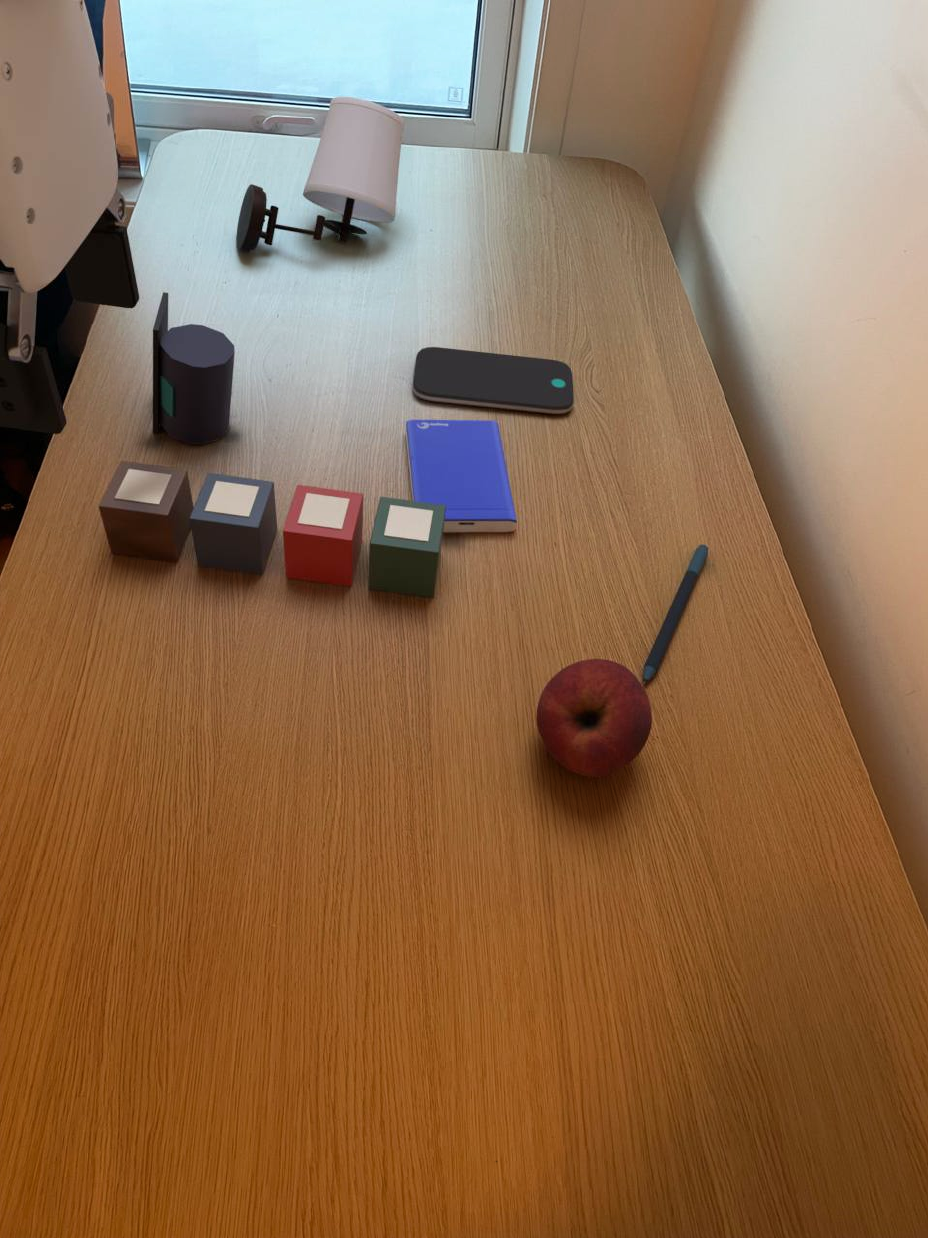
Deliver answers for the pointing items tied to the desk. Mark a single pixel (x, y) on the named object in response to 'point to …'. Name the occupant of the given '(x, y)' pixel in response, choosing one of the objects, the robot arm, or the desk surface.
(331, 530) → the red block
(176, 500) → the walnut block
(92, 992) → the desk surface
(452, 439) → the hard drive
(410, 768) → the desk surface
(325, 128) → the light fixture
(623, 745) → the apple
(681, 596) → the pen
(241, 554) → the slate block
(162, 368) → the speaker
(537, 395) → the smartphone
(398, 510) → the green block
